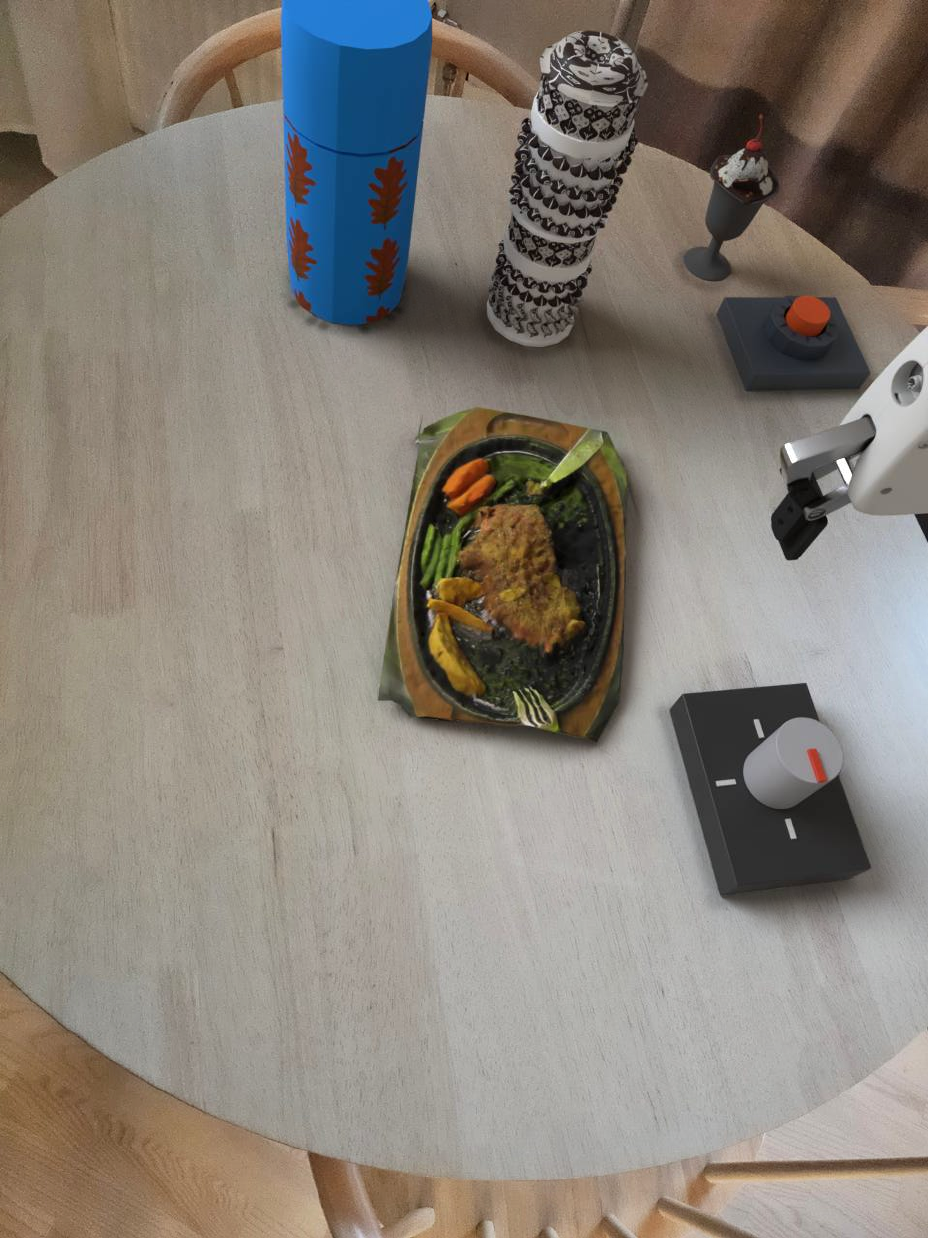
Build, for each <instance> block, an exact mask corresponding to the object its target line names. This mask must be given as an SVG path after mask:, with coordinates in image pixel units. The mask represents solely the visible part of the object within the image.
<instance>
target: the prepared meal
mask: <svg viewBox="0 0 928 1238" xmlns="http://www.w3.org/2000/svg"><path fill="white" fill-rule="evenodd" d="M423 417H424V415H422V417H421V420H420V423H419V428H418V432H417V435H416V436H415V440H414V441H415V442H414V445H417V454H416V455H417V456H416V461H415V467H414V473H413V479H412V484H411V485H412V486H411V491H410V495H409V502H408V507H407V512H406V513H407V514H406V521H405V526H404V532H403V533H404V534H403V538H402V543H401V549H400V554H399V560H398V565H397V571H396V577H395V582H394V588H393V595H392V601H391V608H390V615H389V620H388V621H389V622H388V628H387V636H386V641H385V647H384V654H383V662H382V667H381V675H380V682H379V688H378V695H377V702H391V701H392V702H394V703H396V704H397V705H399V706H400V707H401V708H402V709H403V711H404V712H405V713H406V715H407V716H408V717H410V718H417V719H426V720H434V721H441V722H449V723H450V722H455V721H457V722H460V723H477V724H487V723H488V724H491V725H498V726H502V727H503V726H504V727H518V726H528V727H532V728H535V729H540V730H543V731H548V732H553V733H557V734H561V735H564V736H568V737H574V738H578V739H584V740H587V741H589V742H593V743H595V744H598V742H599V740H600V738H601V736H602V734H603V733H604V731H605V729H606V728H607V726H608V724H609V722H610V720H611V719H612V717H613V715H614V713H615V711H616V709H617V708H618V706H619V704H620V701H621V690H622V678H623V665H624V653H625V625H626V593H627V592H626V591H627V590H626V589H627V521H628V494H627V493H628V487H627V486H628V485H627V481H628V480H627V478H628V477H627V470H626V468H625V466H624V464H623V462H622V460H621V458H620V455H619V453H618V451H617V449H616V448H615V444H614V442H613V441H612V439H611V436H610V434H609V431H606V430H600V429H595V428H590V427H586V426H580V425H575V424H570V423H565V422H561V421H556V420H552V419H545V418H542V417H537V416H532V415H527V414H526V415H525V414H520V413H514V412H508V411H502V410H497V409H491V408H485V407H479V406H474V407H471V408H468V409H466V410H462V411H459V412H455V413H452V414H451V415H448V416H446V417H443V418H441V419H439V420H437V421H435V422H433V423H431V424H430V425H427V426H426V427H424V428H423V430H422V424H423ZM421 430H422V432H421Z"/></svg>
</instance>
